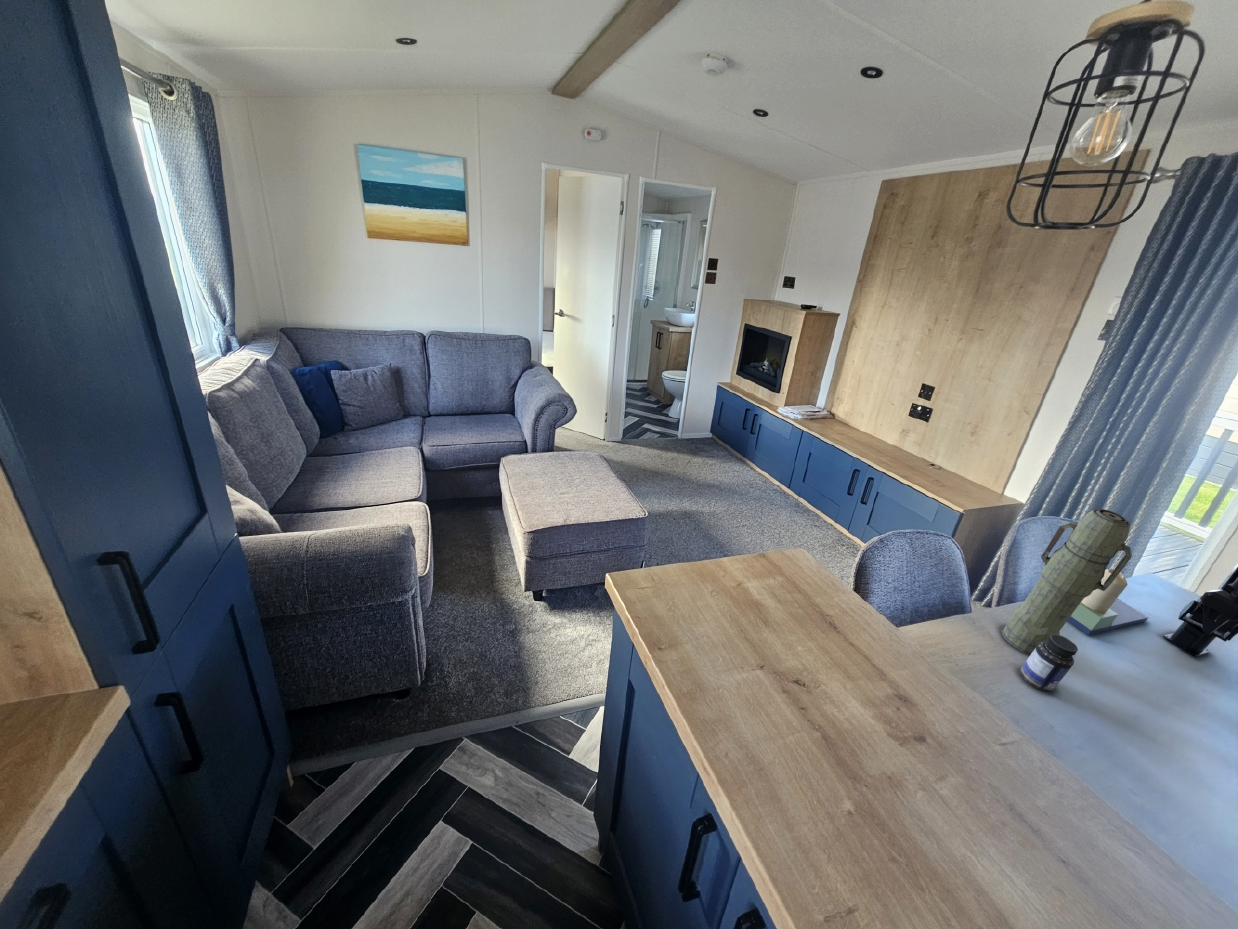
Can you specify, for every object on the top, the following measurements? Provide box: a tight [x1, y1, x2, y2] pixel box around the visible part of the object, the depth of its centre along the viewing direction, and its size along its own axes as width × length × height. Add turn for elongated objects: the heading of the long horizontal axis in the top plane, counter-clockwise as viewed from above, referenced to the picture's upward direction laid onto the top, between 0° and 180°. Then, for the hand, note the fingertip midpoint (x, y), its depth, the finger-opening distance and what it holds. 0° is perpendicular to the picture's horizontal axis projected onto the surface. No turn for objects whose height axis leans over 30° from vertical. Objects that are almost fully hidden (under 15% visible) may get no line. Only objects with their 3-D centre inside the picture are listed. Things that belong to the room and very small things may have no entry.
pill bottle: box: [1019, 634, 1079, 692], centre depth 105 cm, size 6×6×11 cm
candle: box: [1081, 568, 1129, 613], centre depth 124 cm, size 6×6×10 cm
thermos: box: [1001, 508, 1133, 656], centre depth 110 cm, size 9×12×35 cm
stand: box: [1067, 597, 1149, 636], centre depth 130 cm, size 24×8×6 cm, turn 110°
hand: (1216, 629), depth 111 cm, fingers open, 9 cm apart
